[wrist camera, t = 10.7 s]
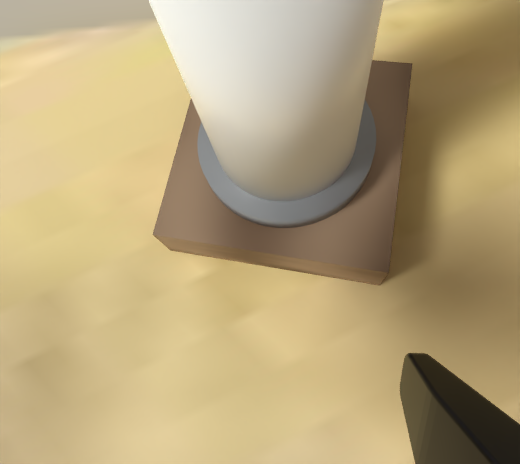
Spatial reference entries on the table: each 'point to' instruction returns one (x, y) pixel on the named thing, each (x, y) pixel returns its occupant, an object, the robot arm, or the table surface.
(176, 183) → the stand
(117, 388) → the table surface
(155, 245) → the table surface
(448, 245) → the table surface
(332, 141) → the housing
